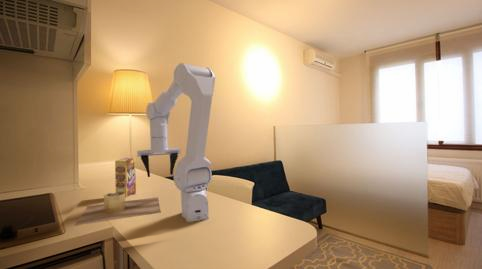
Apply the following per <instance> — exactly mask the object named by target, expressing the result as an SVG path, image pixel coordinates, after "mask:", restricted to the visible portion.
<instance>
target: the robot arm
mask: <svg viewBox="0 0 482 269" xmlns="http://www.w3.org/2000/svg"><path fill="white" fill-rule="evenodd" d="M173 71H174V72H173V81H172V82H171V84H170V86H169V88H168V89H167V90H163V91H162V92H161V93H160V94H159V96H158V97H157V98H156V99H155V101H153V102H148V104H147V106H146V110H145V112H146V113H145V114H146V117H147V119H148V120H149V132H150V133H149V135H150V136H149V138H150V149H145V150H137V151H136V153H137V154H136V155H137V156H136V157H137V158H140V160H141V162H142V164H143V166H144V168H145V170H146V175H147V177H148V178H150V177H151V171H150V162H149V160H150V158H149V156H151V157H152V156H153V157H154V156H166V155H169V163H170V164H169V165H170V166H169V173H170V176H172V175H173V181H174V185H175V187H176V188H177V189H178V191H180V198H181V199H180V202H181V207H180V208H181V216H182V218H183V219H185V221H186V223H192V222H199V221H203V220H209V219H210V215H209V200H208V197H207V188H209V184H210V183H211V182H212V177H213V174H212V162H211V161H210V160H209V159H208V158H207V157H205V154H206V148H207V147H206V146H207V139H208V133H209V123H210V116H211V109H212V101H213V96H214V91H215V90H214V88H215V82H216V76H215V74H214V72H213V71H212V69H211V68H210V67H201V66H196V65H191V64H187V63H186V64H185V63H183V62H181V63H178V64H177V66H175V68H174V70H173ZM182 94H184V95H186V96H187V97H188V98H189V99H190V101H191V104H190V111H189V112H190V113H189V122H188V130H187V139H186V140H187V141H186V149H185V155H184V156H183V157H182V158H180V159H179V160H178V157H179V155H181V148H179V147H177V148H168V145H169V144H168V124H169V118H170V116H171V115H170V113H171V112H170V111H171V110H173V109H174V107H175V106H176V105H177V103H178V99H177V98H179V97H180V96H181V95H182ZM177 160H178V161H177ZM176 162H177V163H176ZM175 165H176V167H175ZM174 168H175V171H174Z"/></svg>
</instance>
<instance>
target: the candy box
mask: <svg viewBox="0 0 482 269" xmlns="http://www.w3.org/2000/svg"><path fill="white" fill-rule="evenodd" d="M114 163H115V164H114V168H115V173H114V176H115V178H114V179H115V183H114V184H115V193H118V192H124V193H125V199H126V198H128V197H130V196H132V195H137V193H136V192H137V191H136V190H137V188H136V187H137V186H136V185H137V184H136V157H125V158H121V159H118V160H115V161H114Z"/></svg>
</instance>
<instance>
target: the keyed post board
mask: <svg viewBox="0 0 482 269" xmlns="http://www.w3.org/2000/svg"><path fill="white" fill-rule="evenodd" d="M117 195H120V193H116V192H113V193H112V194H110V196H117ZM125 208H126V209H125V210H123V211H121V212H117V213H105V209H104V203H101V204H94V205H88V206H87V207H86V208H85V209H84V211H83V212H82V213H81V215H80V217H79V218H78V219H77V221H76V222H75V223H74V227H75V226H80V225H86V224H87V225H88V224H94V223H95V224H96V223H99V222H101V223H102V222H108V221H114V220H119V219H120V220H121V219H126V218H133V217H140V216H147V215H154V214H160V213H162V211H161V207H160V200H159V197H158V196H156V197H147V198H139V199H133V200H125Z"/></svg>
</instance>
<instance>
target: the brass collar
mask: <svg viewBox="0 0 482 269" xmlns="http://www.w3.org/2000/svg"><path fill="white" fill-rule="evenodd" d="M118 193H120V195H117V196H110V194H113V193H111V192H109V193H106V194H104V195H103V204H104V209H105V213H117V212H121V211H123V210H125V209H126V208H125V201H126V198H125V193H124V192H118Z"/></svg>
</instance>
